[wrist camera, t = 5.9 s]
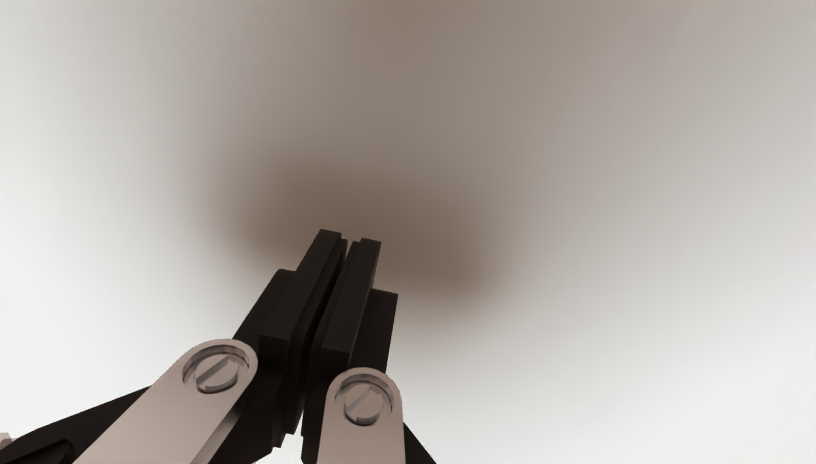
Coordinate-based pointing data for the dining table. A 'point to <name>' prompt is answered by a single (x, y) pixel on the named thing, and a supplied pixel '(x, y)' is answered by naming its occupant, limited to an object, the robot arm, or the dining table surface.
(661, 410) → the dining table surface
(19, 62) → the dining table surface
